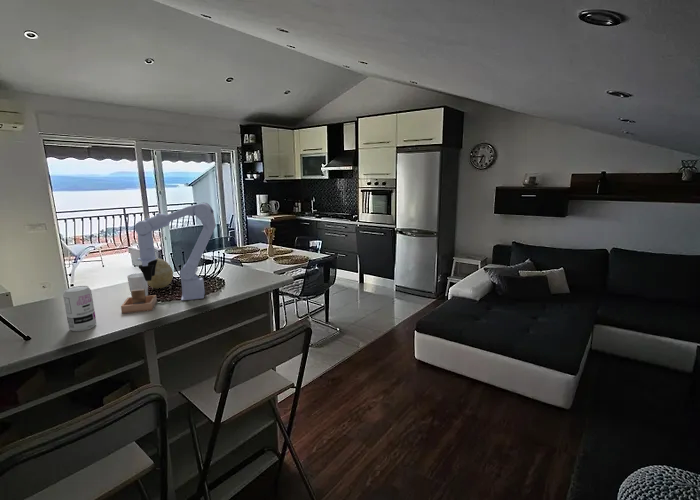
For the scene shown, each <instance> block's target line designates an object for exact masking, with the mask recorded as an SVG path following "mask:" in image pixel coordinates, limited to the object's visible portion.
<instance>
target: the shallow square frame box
mask: <svg viewBox="0 0 700 500" xmlns="http://www.w3.org/2000/svg"><path fill="white" fill-rule="evenodd" d="M145 297H146V303H144V302H138V303H133V300H132V297H127V298H126V299H125V300H124V301H123V303H122V304H121V305H120V309H121V314H133V313H140V312H141V313H142V312H149V311H151V312H152V311H153V310H154V308H155V306H156V305H157V303H158V300H157V295H156V294H153V295H147V296H145Z"/></svg>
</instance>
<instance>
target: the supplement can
mask: <svg viewBox="0 0 700 500" xmlns="http://www.w3.org/2000/svg"><path fill="white" fill-rule="evenodd" d="M62 297H63V303H64V308H65V309H64V310H65V314H66V319H67V324H68V325H67V326H68V330H70V331H71V332H84V331H88V330H90V329H93V328H94V327H95V326H96V325H97V318H96V317H97V316H96V311H95V305H94V298H93V293H92V289H91V288H90V287H89V286H88V285H78V286H72V287H68V288H66V289H64V292H63V295H62Z"/></svg>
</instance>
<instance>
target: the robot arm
mask: <svg viewBox="0 0 700 500" xmlns="http://www.w3.org/2000/svg"><path fill="white" fill-rule="evenodd" d="M214 213H215V211H214V210H213V208H212V207H211V205H210V204H209V203H208V202H201V203H199V204H198V203H196V204H191V205H187V206H185V207H183V208H181V209H178V210H176V211H173V212H170V213H168V214H166V213H164V212H161V213H160V212H158V213H156V214H155V215H154V216H151V217H145V218H144V220H140V221H138V222H137V223H136V224H135V225H134V231H135V233H137V242H138V251H139V257H138V258H137V259H136V261H139V262H141V264H139V265H138V269H139V270H140V271H141V273H143V275H144V278H145V280H146V281H151V279H152V276H155V268H156V263H157V261H158V259H157V257H156V255H155V254H156V253H155V245H154V237H153V231H157V230H160V229H162V228H163V229H164V228H166V227H168V226H169V225H170V223H171V222H173V221H175V220H178V219H181V218H183V217H186V216H189V217H195V216H196V218H197V219H199V220H200V222H201V225H202V226H203V227H202V230H201V232H200V234H199V236H198V238H197V240H196V242H195V244H194V247H193V248H192V251H191V253H190V255H189V257H188V259H187V261H186V263H184V264H183V267H182V268H181V269H180V270H179V276H180V283H181V284H180V285H181V292H182V293H181V298H180V300H181V301H190V300H191V301H192V300H199V299H204V297H205V294H206V292H205V291H206V289H205V282H204V278H203V277H199V276H198V275H197V272H198V270H199V268H198V266H199V263H200V260H201V258H202V256H203V254H204V251H205V250H206V249H207V245H208V243H209V241H210V240H211V236H213V233H214V231H215V228H216V225H217V224H216V219H215V214H214Z"/></svg>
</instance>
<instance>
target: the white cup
mask: <svg viewBox="0 0 700 500" xmlns="http://www.w3.org/2000/svg"><path fill="white" fill-rule="evenodd" d="M126 277H127V281H128V287H129V291H130V296H131V297H132V293H131V291H132V290H136V289H145V296H149V285H148V281H146V280H145V278H144V275H143V273H142V272H136V273H135V272H134V273H132V274H129V275H127V276H126Z"/></svg>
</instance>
